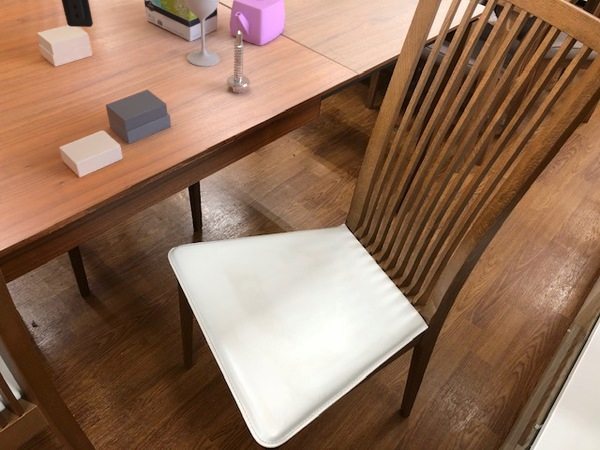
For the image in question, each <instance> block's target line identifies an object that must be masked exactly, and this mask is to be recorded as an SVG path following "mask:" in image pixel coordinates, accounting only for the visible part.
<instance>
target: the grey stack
mask: <svg viewBox="0 0 600 450" xmlns="http://www.w3.org/2000/svg"><path fill="white" fill-rule="evenodd" d="M105 109H106V113H107V118H108V123H109V127H110V129H111V130H112V131H113V132H114V133H116V134H117V135H118V136H119V137H120V138H122V139H123V141H125V142H126V143H127V144H128V145H130V144H133V143H135V142H137V141H140V140H142V139H144V138H147V137H149V136H152V135H153V134H156V133H159V132H162V131H164V130H166V129H169V128H171V127H172V123H171V115H170V114H169V112H168V109H167V103H166V102H165V101H163V100H162V99H160V98H159V97H158V96H157V95H155V94H154V93H153V92H151V91H150V90H149V89H145V90H143V91H140V92H137V93H134V94H131V95H129V96H126V97H122V98H120V99H118V100H115V101H111V102H109V103H106V104H105Z"/></svg>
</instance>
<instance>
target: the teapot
mask: <svg viewBox="0 0 600 450" xmlns="http://www.w3.org/2000/svg"><path fill="white" fill-rule="evenodd" d="M285 15H286V14H285V2H284V0H233V1H232V5H231V10H230V18H229V31H230V34H231V36H233V37H235V38H236V31H238V30H240V31H241V32H242V41H245V42H248V43H251V44H253V45H257V46H264V45H265V44H268V43H270V42H271V41H273V40H274V39H276V38H277V37H279V35H281V34H282V33H283V31H284V28H285V19H286V16H285Z"/></svg>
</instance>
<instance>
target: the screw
mask: <svg viewBox="0 0 600 450" xmlns="http://www.w3.org/2000/svg"><path fill="white" fill-rule="evenodd" d="M244 48H245V47H244V43H243V40H242V32H241V31H240V30H238V31H236V37H235V41H234V47H233V49H234V50H233V52H234V53H233V58H234V59H233V63H234V64H233V71H234V72H233V74H231V75H230V76H228V77H227V78H226V84H227V86H229V87H231V89H232V92H233V93H236V94H241V93H243V92H245V91H246V89H245V88H247V87H249V86H250V84H251V80H250V78H248V77H247V76H246V75H244V74H243V73H244Z"/></svg>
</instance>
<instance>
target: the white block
mask: <svg viewBox="0 0 600 450" xmlns="http://www.w3.org/2000/svg"><path fill="white" fill-rule="evenodd" d="M58 149H59V152H60V155H61V159H62V162H63V163H64V164H66V166H67V167H68V168H69V169H70V170H72V171H73V172H74V174H75V175H76V176H77V177H78V178H82V177H85V176H86V175H87V176H88V175H89V174H91V173H94V172H96V171H99V170H100V169H103V168H105V167H107V166H110V165H112V164H115V163H116V162H119V161H121V160H123V153H122V148H121V144H120V143H118V142H117V141H116V140H115V139H114V138H112V136H111V135H109V134H108V133H107V132H106V131H105V130H104V129H102V130H99V131H97V132H93V133H92V134H89V135H87V136H83V137H82V138H79V139H76V140H74V141H71V142H69V143H66V144H64V145H61V146H59V147H58Z"/></svg>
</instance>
